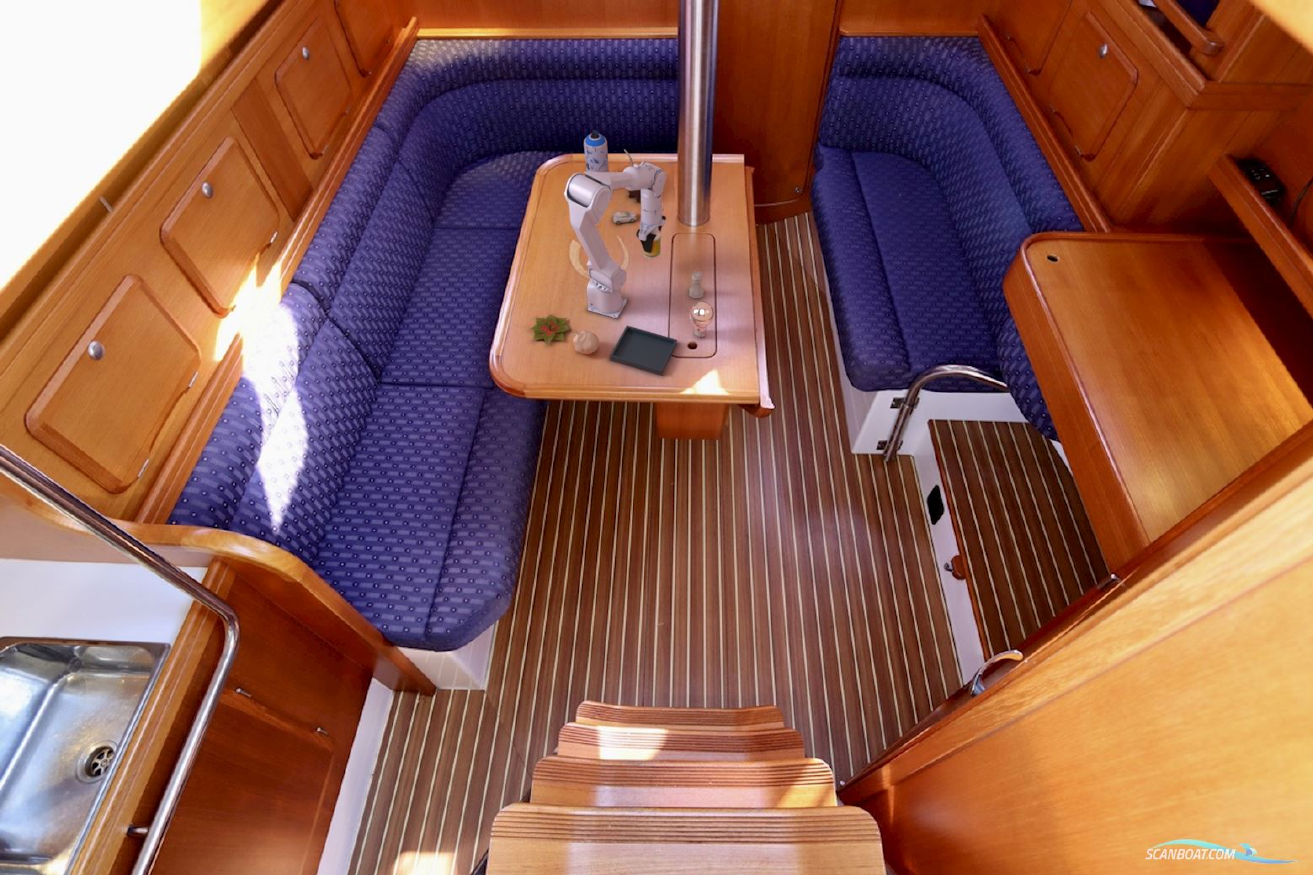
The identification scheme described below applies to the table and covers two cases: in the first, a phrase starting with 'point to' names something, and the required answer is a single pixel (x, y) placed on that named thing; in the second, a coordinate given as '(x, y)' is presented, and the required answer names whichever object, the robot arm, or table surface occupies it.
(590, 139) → the aerosol can
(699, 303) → the light bulb
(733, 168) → the table surface
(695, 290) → the rook chess piece
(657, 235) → the supplement bottle
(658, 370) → the tray
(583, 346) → the garlic bulb
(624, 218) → the toy car
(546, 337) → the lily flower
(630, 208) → the table surface
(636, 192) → the mate gourd
